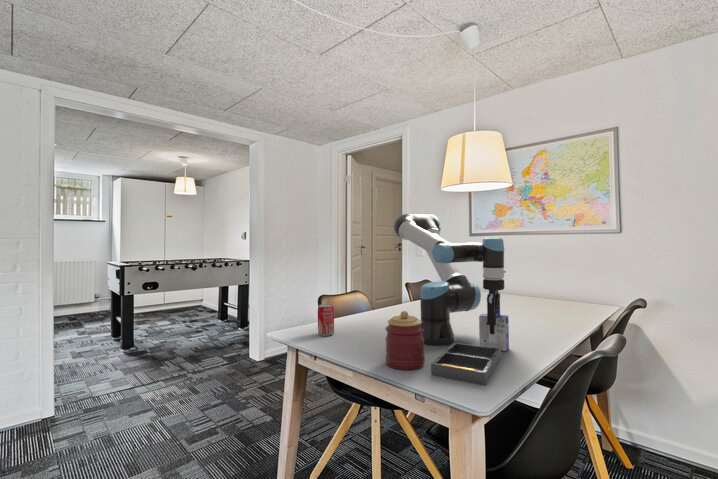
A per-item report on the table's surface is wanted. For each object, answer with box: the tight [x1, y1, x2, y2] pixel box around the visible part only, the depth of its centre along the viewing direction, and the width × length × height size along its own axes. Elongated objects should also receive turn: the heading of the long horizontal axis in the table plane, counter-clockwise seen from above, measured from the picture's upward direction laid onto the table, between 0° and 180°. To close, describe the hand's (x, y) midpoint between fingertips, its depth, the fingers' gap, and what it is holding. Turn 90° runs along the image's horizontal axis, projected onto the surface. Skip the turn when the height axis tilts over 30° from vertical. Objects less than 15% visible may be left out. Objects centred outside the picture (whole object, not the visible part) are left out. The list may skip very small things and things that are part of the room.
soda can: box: [317, 303, 335, 337], centre depth 157 cm, size 7×7×13 cm
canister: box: [385, 310, 426, 371], centre depth 120 cm, size 13×13×18 cm
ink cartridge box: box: [478, 309, 510, 352], centre depth 135 cm, size 10×6×14 cm, turn 58°
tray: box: [430, 342, 502, 386], centre depth 116 cm, size 16×25×4 cm, turn 149°
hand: (494, 340), depth 135 cm, fingers closed on ink cartridge box, 5 cm apart
